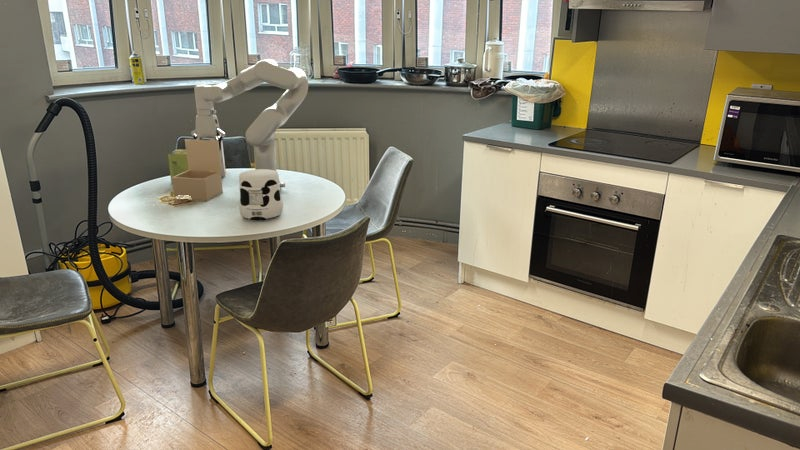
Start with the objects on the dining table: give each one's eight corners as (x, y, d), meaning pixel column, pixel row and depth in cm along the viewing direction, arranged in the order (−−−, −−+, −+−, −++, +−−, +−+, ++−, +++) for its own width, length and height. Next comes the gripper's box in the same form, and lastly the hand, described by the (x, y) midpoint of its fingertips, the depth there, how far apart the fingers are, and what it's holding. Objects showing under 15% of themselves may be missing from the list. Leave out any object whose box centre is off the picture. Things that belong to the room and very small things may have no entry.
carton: (222, 192, 279) (220, 171, 276) (207, 201, 266) (204, 179, 263) (191, 190, 283) (188, 169, 279) (174, 199, 270) (171, 177, 266)
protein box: (203, 185, 291) (199, 153, 286) (171, 185, 292) (167, 153, 286) (210, 180, 301) (206, 149, 296) (179, 180, 301) (175, 149, 296)
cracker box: (213, 171, 317) (209, 131, 310) (225, 170, 318) (221, 131, 311) (212, 178, 304) (208, 136, 297) (225, 177, 305) (221, 136, 298)
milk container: (271, 207, 257) (268, 166, 251) (291, 218, 244) (288, 174, 238) (233, 216, 247) (228, 173, 241) (251, 227, 234) (247, 181, 228)
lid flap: (221, 171, 276) (227, 168, 282) (217, 140, 271) (224, 138, 277) (188, 169, 280) (195, 166, 285) (184, 139, 275) (191, 136, 280)
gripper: (227, 111, 277) (230, 149, 282) (192, 110, 280) (197, 147, 286) (219, 114, 270) (222, 152, 276) (183, 113, 273) (188, 151, 279)
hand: (209, 150), depth 281 cm, fingers open, 8 cm apart
